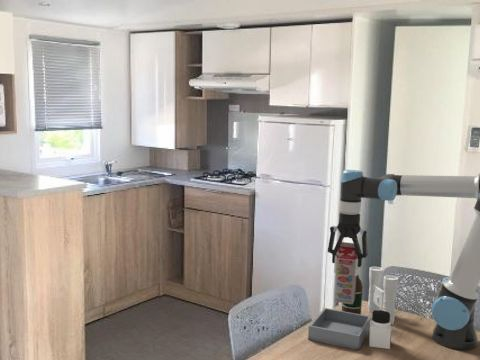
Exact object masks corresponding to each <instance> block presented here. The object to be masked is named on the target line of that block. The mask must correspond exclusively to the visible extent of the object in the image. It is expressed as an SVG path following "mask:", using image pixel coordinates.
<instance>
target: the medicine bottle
mask: <svg viewBox="0 0 480 360" xmlns="http://www.w3.org/2000/svg"><path fill="white" fill-rule="evenodd" d="M371 314H372V316H371V320H370V326H369V332H368V345H369V347H370V348H378V349H387V350H390V349H391V346H392V345H391V343H392V332H393V331H392V326H391V325H392V324H390V313H389V312H387V311H385V310H382V309H379V310H374V311H373V313H371Z"/></svg>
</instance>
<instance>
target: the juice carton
mask: <svg viewBox="0 0 480 360" xmlns="http://www.w3.org/2000/svg"><path fill="white" fill-rule="evenodd" d="M357 257H358V256H357V253H356V250H355V246H354V243H353V242H343V241H342V242H341V244H340V246H339V248H338V251H337V262H336V273H335V281H334V297H333V298H334V300H333V303H339V304H342V303H346V304H353V302H354V300H355V290H356V276H355V262H356V258H357Z"/></svg>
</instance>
